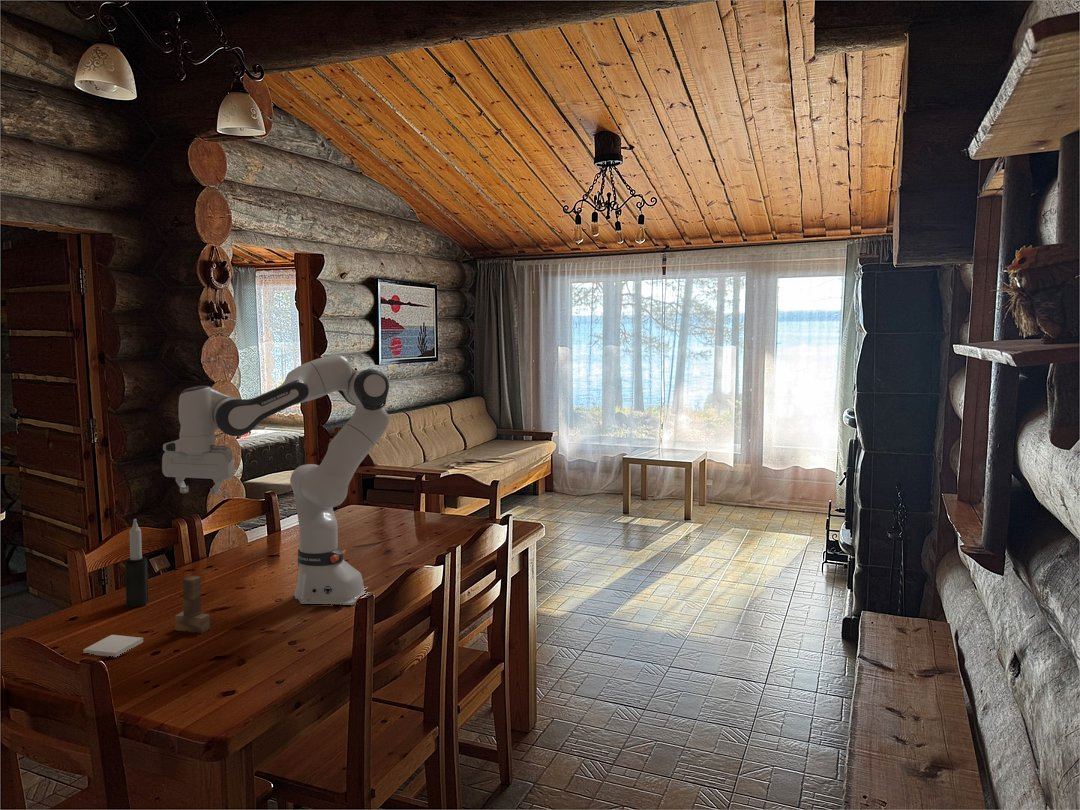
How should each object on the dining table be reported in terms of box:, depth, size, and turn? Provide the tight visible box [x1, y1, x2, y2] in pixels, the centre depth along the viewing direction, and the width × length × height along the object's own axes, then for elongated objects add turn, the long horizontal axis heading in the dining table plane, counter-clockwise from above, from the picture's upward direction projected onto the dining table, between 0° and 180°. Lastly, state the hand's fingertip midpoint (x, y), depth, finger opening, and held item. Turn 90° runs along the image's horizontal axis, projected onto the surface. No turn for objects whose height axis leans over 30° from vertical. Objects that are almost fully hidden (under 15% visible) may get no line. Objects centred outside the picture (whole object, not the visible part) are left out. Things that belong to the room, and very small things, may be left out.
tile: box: [83, 634, 144, 658], centre depth 176 cm, size 9×2×9 cm
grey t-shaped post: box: [174, 575, 211, 634], centre depth 188 cm, size 8×3×14 cm, turn 78°
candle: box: [124, 518, 149, 608], centre depth 204 cm, size 5×5×25 cm
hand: (199, 493), depth 199 cm, fingers open, 8 cm apart
